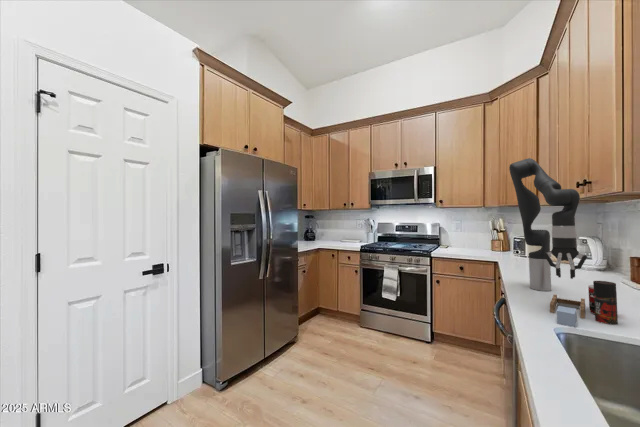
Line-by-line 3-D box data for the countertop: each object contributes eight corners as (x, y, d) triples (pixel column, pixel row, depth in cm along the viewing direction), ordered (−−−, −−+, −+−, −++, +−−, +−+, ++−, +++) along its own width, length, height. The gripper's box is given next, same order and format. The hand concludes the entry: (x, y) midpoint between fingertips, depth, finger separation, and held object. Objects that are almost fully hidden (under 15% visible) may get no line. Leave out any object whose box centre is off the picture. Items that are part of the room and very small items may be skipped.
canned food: (591, 309, 114) (590, 283, 114) (619, 314, 108) (617, 287, 108) (587, 313, 110) (586, 286, 110) (615, 318, 103) (614, 290, 103)
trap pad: (558, 303, 122) (558, 302, 123) (579, 306, 117) (579, 305, 117) (557, 305, 119) (557, 305, 119) (579, 309, 114) (579, 308, 114)
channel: (554, 301, 125) (553, 294, 125) (585, 306, 117) (584, 298, 117) (550, 312, 111) (549, 304, 112) (584, 318, 104) (584, 309, 104)
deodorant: (591, 319, 103) (589, 281, 103) (600, 317, 104) (599, 280, 105) (612, 325, 97) (610, 284, 97) (621, 323, 99) (619, 283, 99)
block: (559, 318, 105) (559, 305, 105) (576, 321, 102) (576, 308, 102) (557, 323, 100) (556, 310, 100) (575, 327, 96) (574, 314, 96)
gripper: (540, 236, 112) (542, 276, 112) (587, 237, 102) (589, 282, 102) (543, 235, 118) (544, 274, 117) (587, 236, 107) (589, 278, 107)
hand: (565, 277), depth 109 cm, fingers open, 3 cm apart
